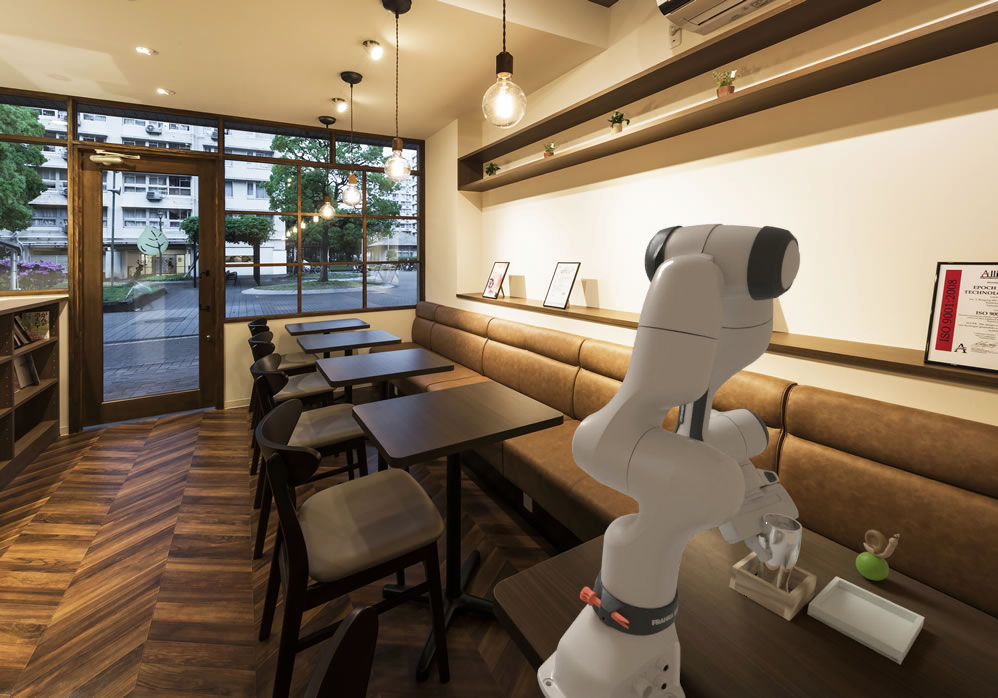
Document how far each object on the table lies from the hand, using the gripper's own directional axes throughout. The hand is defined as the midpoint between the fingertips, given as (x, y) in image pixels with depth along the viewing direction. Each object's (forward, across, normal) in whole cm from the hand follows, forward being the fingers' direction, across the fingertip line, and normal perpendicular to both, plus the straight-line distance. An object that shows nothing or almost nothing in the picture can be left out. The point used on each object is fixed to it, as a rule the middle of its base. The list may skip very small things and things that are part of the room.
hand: (780, 554), depth 91 cm
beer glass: (+6, 0, +6) cm, 9 cm away
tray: (+14, +8, -2) cm, 17 cm away
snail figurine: (+11, +23, +1) cm, 26 cm away
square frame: (+6, 0, +6) cm, 8 cm away
